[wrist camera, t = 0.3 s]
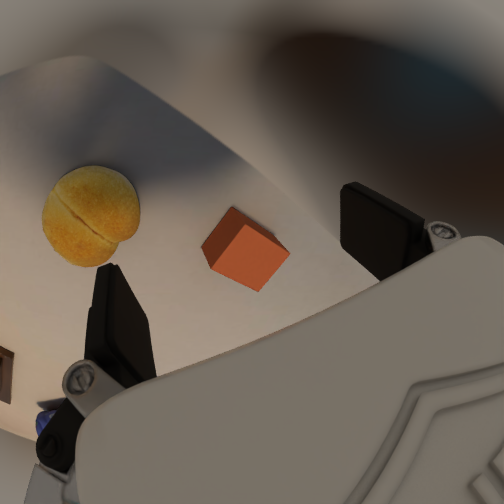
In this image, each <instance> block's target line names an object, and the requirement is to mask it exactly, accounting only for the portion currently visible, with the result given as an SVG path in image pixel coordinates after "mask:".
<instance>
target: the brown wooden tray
mask: <svg viewBox="0 0 504 504" xmlns="http://www.w3.org/2000/svg"><path fill="white" fill-rule="evenodd" d="M13 360H14V353H13V352H10V351H8V350H6V349H4V348H2V347H0V400H1V401H3V402H5V403H8V404H10V403H11V386H12V371H13Z"/></svg>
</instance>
